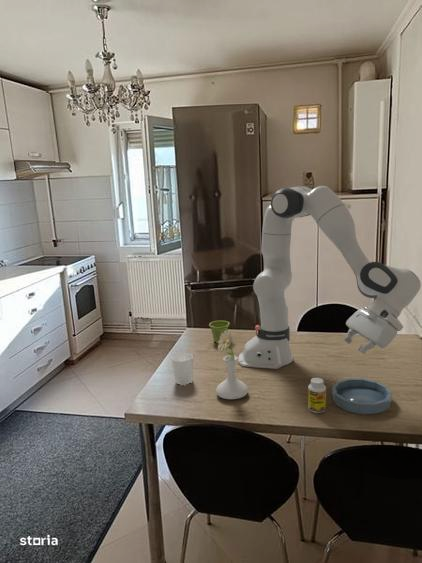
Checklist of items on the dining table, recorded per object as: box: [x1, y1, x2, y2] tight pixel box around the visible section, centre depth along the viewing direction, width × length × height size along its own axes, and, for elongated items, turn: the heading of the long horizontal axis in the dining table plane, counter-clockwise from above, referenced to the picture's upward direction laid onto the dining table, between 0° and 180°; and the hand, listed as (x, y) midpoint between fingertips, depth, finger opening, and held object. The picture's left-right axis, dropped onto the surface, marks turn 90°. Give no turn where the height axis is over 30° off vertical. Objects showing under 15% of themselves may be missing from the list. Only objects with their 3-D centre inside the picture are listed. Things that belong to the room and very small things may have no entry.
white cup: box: [171, 352, 194, 386], centre depth 164 cm, size 8×8×10 cm
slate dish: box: [331, 377, 393, 415], centre depth 144 cm, size 18×18×4 cm
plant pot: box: [208, 320, 230, 344], centre depth 204 cm, size 9×9×9 cm
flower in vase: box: [215, 329, 249, 400], centre depth 149 cm, size 13×11×25 cm
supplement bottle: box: [307, 377, 327, 414], centre depth 139 cm, size 6×6×10 cm
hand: (353, 346), depth 140 cm, fingers open, 8 cm apart
